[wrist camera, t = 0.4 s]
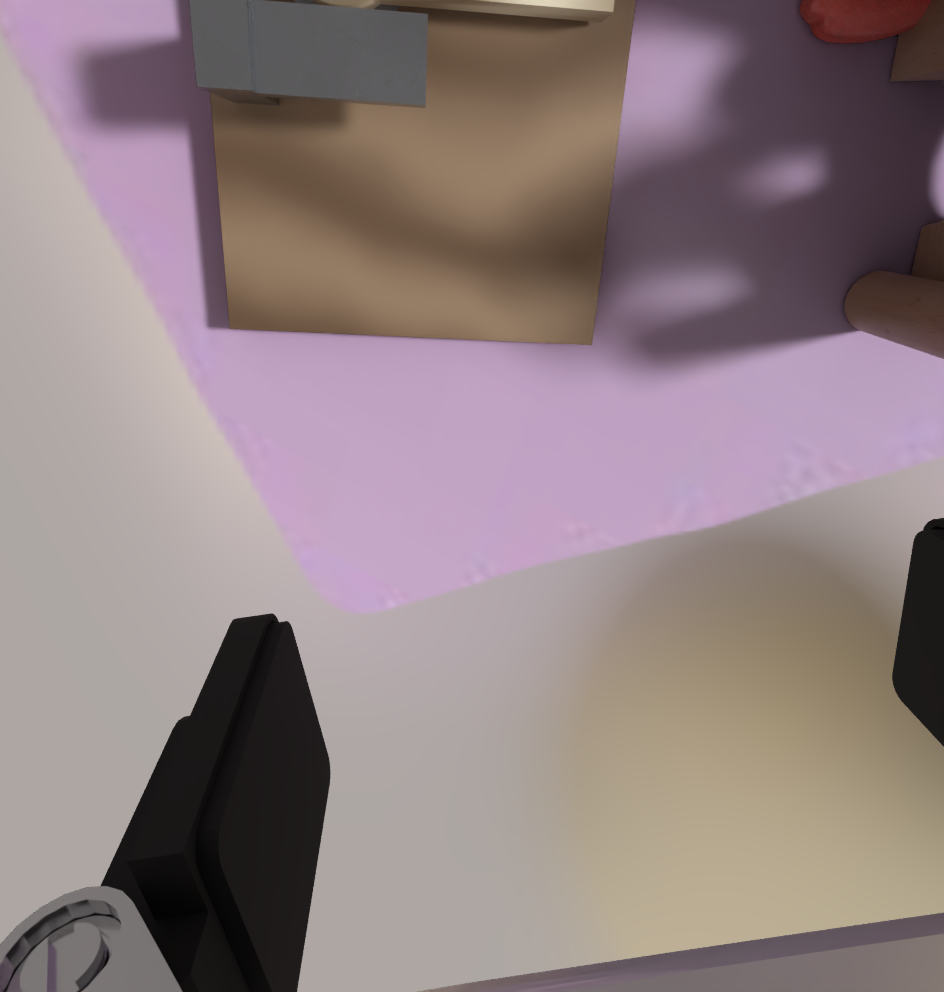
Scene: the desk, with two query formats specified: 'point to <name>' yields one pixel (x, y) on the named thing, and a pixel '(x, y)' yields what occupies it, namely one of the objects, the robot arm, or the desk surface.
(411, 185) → the base board
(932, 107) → the desk surface
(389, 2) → the link
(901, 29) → the stacking bear
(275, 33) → the keeper
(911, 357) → the desk surface
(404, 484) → the desk surface
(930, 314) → the wooden toy
